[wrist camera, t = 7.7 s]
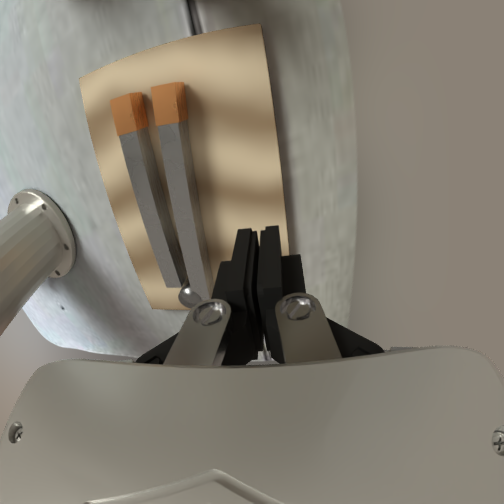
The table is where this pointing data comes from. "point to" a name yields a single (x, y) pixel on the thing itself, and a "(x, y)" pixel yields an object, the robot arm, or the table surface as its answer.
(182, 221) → the tongs arm
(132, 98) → the arm
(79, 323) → the table surface
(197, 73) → the board
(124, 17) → the table surface
